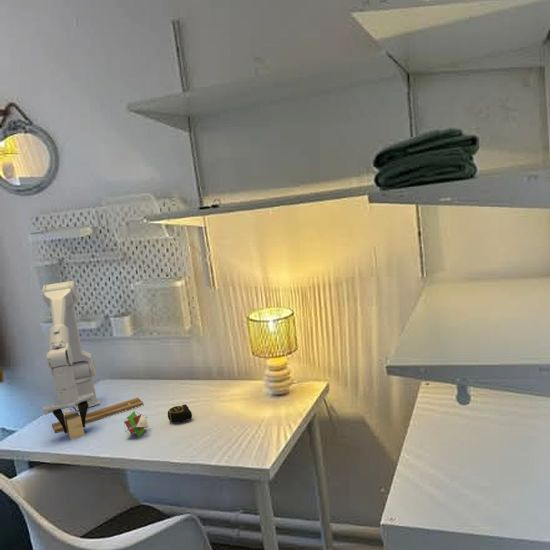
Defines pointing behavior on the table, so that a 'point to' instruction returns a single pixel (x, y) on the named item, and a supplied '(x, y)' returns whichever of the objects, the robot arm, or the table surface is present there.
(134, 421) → the geometric puzzle
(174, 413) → the tape measure
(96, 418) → the brown wooden flat strip
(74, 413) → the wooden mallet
